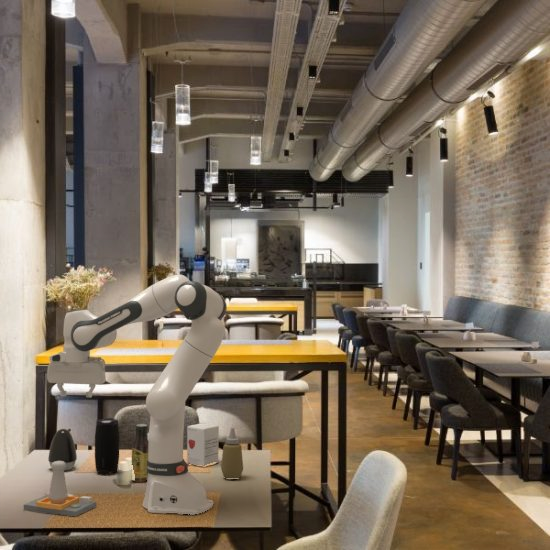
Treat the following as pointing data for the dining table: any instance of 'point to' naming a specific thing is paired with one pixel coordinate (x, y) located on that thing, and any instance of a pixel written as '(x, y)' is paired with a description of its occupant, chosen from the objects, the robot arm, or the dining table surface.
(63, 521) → the dining table surface
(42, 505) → the panel
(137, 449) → the sauce bottle
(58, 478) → the salt shaker
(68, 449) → the black rounded piece
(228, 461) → the squeeze bottle
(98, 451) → the portable speaker
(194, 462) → the supplement box
